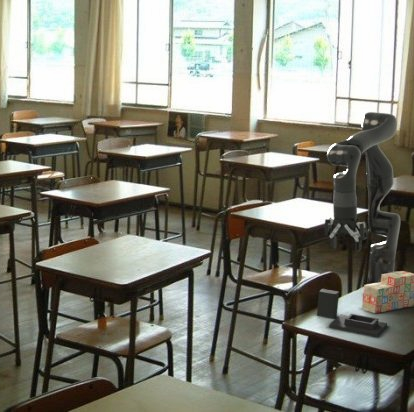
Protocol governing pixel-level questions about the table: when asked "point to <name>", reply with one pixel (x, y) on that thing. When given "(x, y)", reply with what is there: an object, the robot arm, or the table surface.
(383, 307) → the stack of blocks
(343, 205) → the robot arm
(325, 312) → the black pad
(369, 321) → the base pad
